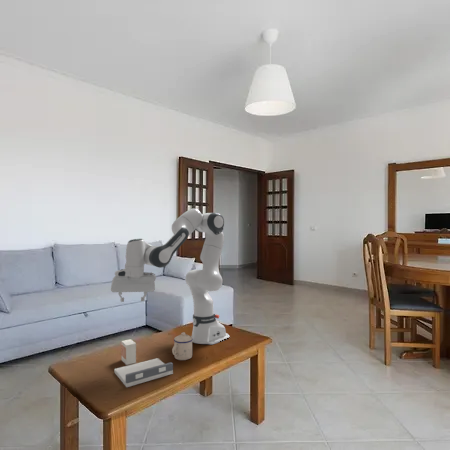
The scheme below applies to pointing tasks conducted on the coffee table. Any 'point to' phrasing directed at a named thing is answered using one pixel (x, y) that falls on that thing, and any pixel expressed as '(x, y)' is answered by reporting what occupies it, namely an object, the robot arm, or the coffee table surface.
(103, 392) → the coffee table surface
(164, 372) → the shelf board
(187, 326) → the coffee table surface
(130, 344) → the product carton
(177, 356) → the teacup with lid
